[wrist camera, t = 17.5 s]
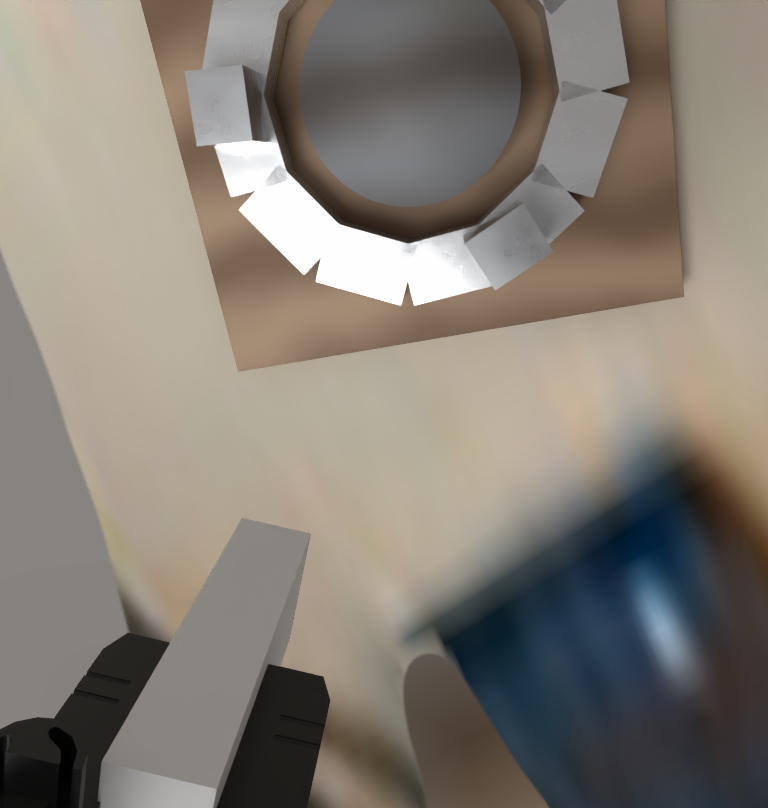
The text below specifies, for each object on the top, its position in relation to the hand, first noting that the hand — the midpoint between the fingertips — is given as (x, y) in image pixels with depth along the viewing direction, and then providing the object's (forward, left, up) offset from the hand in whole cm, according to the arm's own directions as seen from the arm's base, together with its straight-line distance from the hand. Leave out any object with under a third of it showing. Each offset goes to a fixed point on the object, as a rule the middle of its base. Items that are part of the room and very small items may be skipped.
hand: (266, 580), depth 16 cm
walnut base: (+11, -4, -26) cm, 29 cm away
